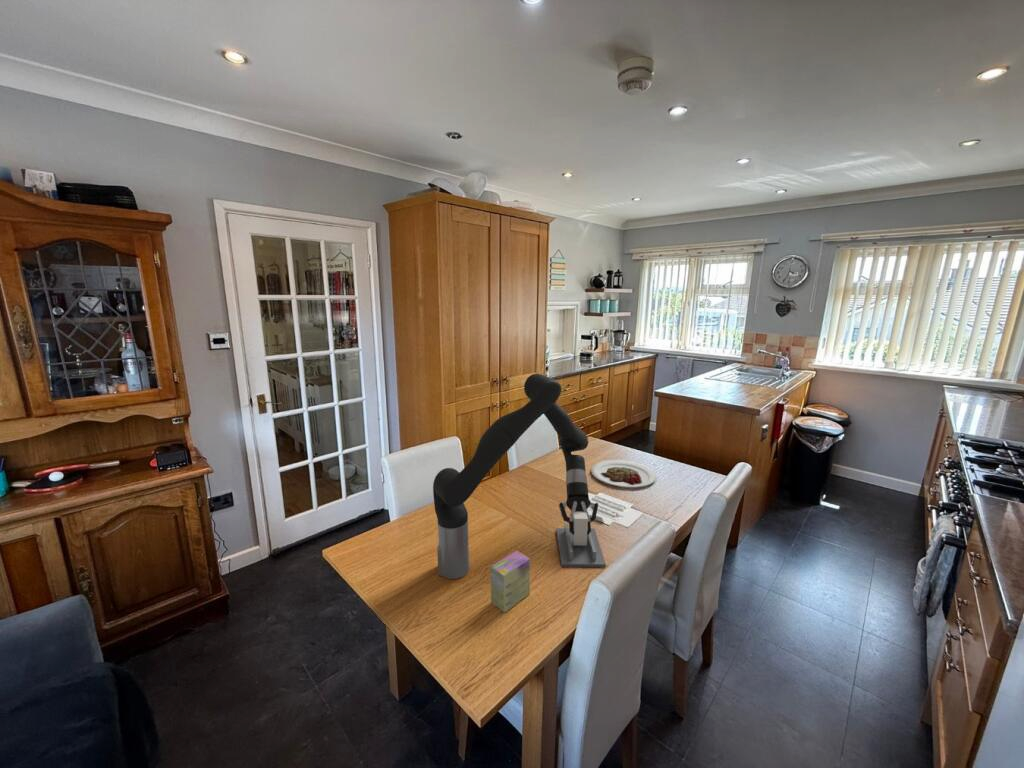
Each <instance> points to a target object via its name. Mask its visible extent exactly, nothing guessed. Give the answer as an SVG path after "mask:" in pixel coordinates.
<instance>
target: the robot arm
mask: <svg viewBox="0 0 1024 768" xmlns="http://www.w3.org/2000/svg"><path fill="white" fill-rule="evenodd" d="M523 390H524V391H523V392H524V394H525V396H526V397H527V398H528V399H529V401H528V402H527V403H526V404H525V405H524V406H522V407H521V408H518V409H516V410H514V411H512V412H509V413H507V414H505V415H502V416H500V417H499V418H498V419H496V420H495V421H494V422H493V423H492V424H491V425H490V426H489V428H487V429H486V430H485V431H484V433H483V434H482V435H481V437H480V439H479V441H478V444H477V447H476V449H475V452H474V454H473V457H472V458H471V460H470V461H469V462H468V463H467V464H466V465H465V467H464V468H462V470H461V471H460V472H459V471H458V470H456V469H455V468H453V467H446V468H444V469H440V471H439V472H438V473H437V474H436V476H435V477H434V480H433V484H432V485H433V486H432V493H433V506H434V511H435V515H436V518H437V531H438V532H437V533H438V535H437V536H438V537H437V538H438V545H437V552H436V553H437V571H438V574H437V575H438V576H441V577H443V578H445V579H449V580H456V579H461V578H463V577H465V576H466V575H467V574H468V573H469V572H470V546H469V543H470V542H469V541H470V539H469V516H468V509H467V507H466V505H465V502H467V500H469V498H470V497H471V496H472V494H473V493H474V492H475V490H476V489H477V488H478V487H479V485H480V483H481V482H482V481H483V480H484V479H485V477H486V476H487V474H489V472H490V471H491V470H492V469H493V468H494V466H496V464H497V463H498V461H500V460H501V458H502V457H504V456H505V454H506V453H507V452H509V450H511V448H512V447H513V446H514V444H515V443H516V442H517V441H518V440H520V437H522V436H523V435H524V433H525V432H526V431H528V429H529V428H530V427H531V426H532V425H533V424H534V423H535V422H537V420H538V419H539V418H540V417H542V416H543V415H544V416H545V417H546V419H547V420H548V422H549V423H550V424H551V426H552V428H553V430H554V431H555V432H556V434H557V435H558V437H559V446H560V448H561V451H562V453H563V458H564V461H565V469H566V470H565V471H566V472H565V485H566V501H564V502H559V504H558V508H559V511H560V515H561V516H562V519H563V521H564V522H567V524H568V528H569V531H570V533H572V535H574V524H573V513H575V511H578V512H584V513H586V514H587V517H588V530H587V535H589V533H590V532H591V529H592V526H591V523H592V522H593V523H594V522H595V520H596V514H597V509H598V503H592V502H590V500H589V496H588V493H589V487H588V486H589V485H588V476H587V471H586V460H585V457H583V455H580V454H572V452H578V451H583V450H586V449H587V447H588V445H589V438H588V436H587V434H586V433H585V431H584V430H582V429H581V428H580V427H578V426H577V425H575V423H574V422H573V420H572V418H571V417H570V415H569V413H567V411H566V410H564V408H563V407H561V405H560V404H559V403H557V401H558V400H559V398H560V396H561V394H562V393H561V392H562V385H561V384H560V382H558V381H557V380H556V379H554V378H551V377H549V376H546V375H543V374H541V373H533V374H531V375H529V376H528V377H527V378H526V380H525V381H524V386H523ZM589 506H591V509H592V510H593V512H592V517H589V514H588V511H587V509H588V507H589ZM567 507H568V509H569V510H570V513H569V514H570V515H569V516H568V515H567V512H566V508H567Z"/></svg>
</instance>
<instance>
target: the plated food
mask: <svg viewBox="0 0 1024 768" xmlns="http://www.w3.org/2000/svg"><path fill="white" fill-rule="evenodd" d="M590 470H591V474H592V475H593V477H594V478H595V479H597V480H599V481H600V482H603V483H605V484H608V485H610V486H614V487H621V488H630V489H631V488H633V489H635V488H643V487H646V486H649V485H652V484H653V483H655V482H656V480H657V474H656V472H655V471H654V470H653V469H652V468H651V467H650V466H649V467H648V466H646V465H645V464H642V463H639V462H636V461H632V460H625V459H606V460H602V461H599V462H596V463H595V464H593V465H592V467H591V469H590Z"/></svg>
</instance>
